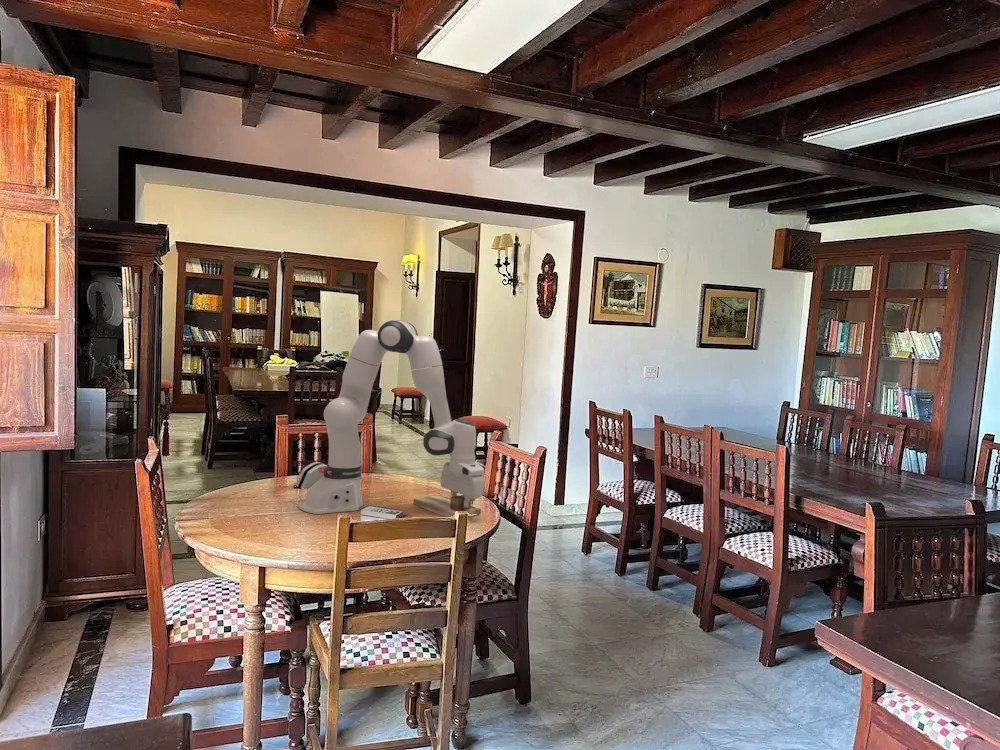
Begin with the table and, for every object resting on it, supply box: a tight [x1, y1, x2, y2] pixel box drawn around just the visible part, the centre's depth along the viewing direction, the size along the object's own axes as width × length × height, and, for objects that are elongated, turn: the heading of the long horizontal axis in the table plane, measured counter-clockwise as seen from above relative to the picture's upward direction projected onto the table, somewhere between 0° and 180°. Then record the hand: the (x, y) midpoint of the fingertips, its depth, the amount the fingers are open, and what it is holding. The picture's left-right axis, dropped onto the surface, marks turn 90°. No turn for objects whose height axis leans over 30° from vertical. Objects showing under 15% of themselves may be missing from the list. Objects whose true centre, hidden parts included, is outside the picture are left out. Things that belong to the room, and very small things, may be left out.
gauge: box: [450, 494, 476, 511], centre depth 237 cm, size 10×4×4 cm, turn 131°
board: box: [412, 494, 482, 518], centre depth 242 cm, size 12×24×2 cm, turn 42°
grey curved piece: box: [292, 461, 328, 489], centre depth 270 cm, size 17×5×10 cm, turn 165°
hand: (460, 505), depth 236 cm, fingers closed on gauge, 4 cm apart
